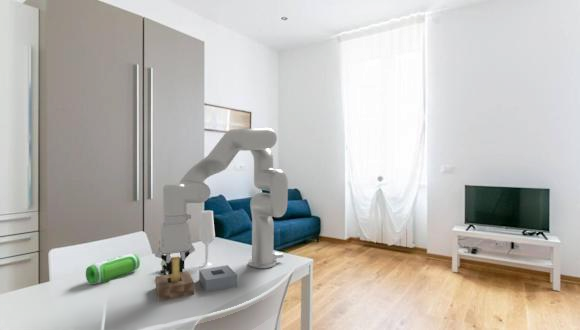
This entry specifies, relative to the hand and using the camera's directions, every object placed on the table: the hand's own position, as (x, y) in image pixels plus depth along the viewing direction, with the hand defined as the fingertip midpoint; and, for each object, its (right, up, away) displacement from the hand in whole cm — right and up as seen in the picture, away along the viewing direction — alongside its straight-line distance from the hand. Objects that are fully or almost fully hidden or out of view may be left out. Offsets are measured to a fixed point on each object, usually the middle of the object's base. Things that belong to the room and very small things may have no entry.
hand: (175, 271), depth 106 cm
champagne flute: (+4, -7, +26) cm, 27 cm away
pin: (0, -5, 0) cm, 5 cm away
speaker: (-29, -7, +13) cm, 33 cm away
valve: (-10, -7, +18) cm, 21 cm away
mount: (0, -8, 0) cm, 8 cm away
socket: (+13, -8, +7) cm, 17 cm away
